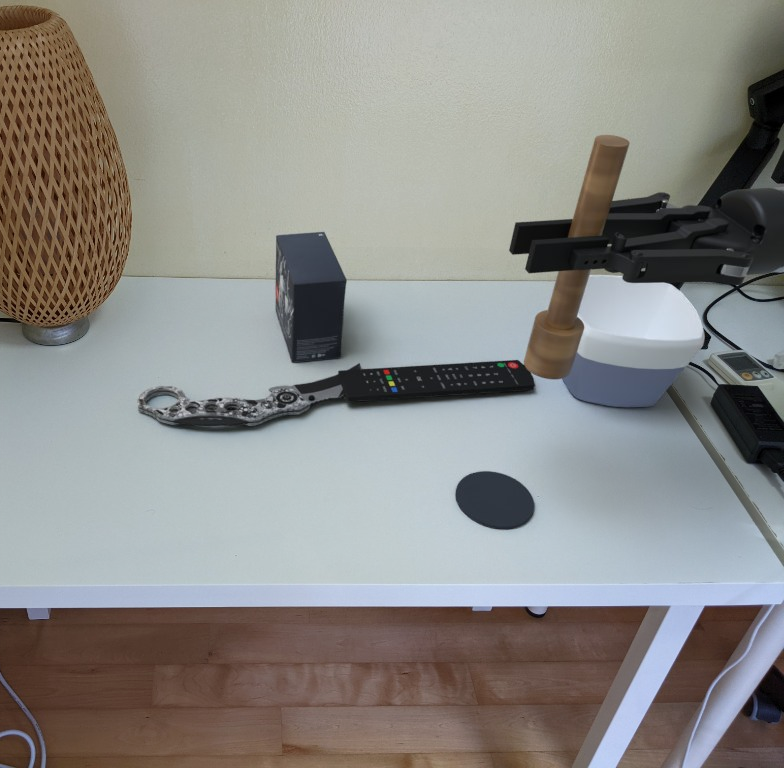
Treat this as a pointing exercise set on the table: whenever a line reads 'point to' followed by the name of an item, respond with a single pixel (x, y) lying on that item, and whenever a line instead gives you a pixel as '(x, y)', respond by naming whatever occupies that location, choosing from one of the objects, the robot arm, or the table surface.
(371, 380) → the remote control
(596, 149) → the muddler
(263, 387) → the table surface
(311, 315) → the small box
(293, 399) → the knife
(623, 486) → the table surface
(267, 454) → the table surface
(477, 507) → the coaster
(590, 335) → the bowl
